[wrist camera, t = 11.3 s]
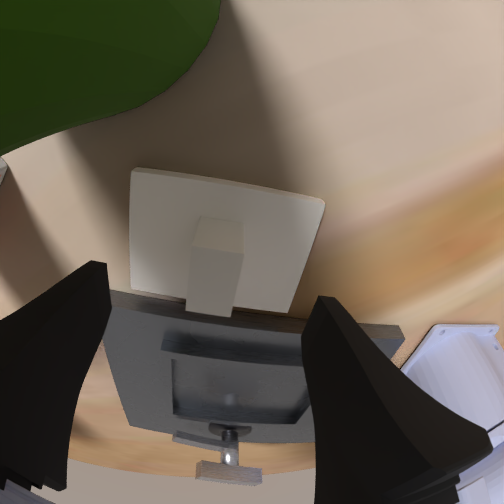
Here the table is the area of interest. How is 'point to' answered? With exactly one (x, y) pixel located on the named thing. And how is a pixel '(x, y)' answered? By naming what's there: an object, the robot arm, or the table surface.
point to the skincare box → (2, 169)
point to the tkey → (229, 463)
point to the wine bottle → (91, 59)
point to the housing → (215, 370)
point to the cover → (218, 240)
